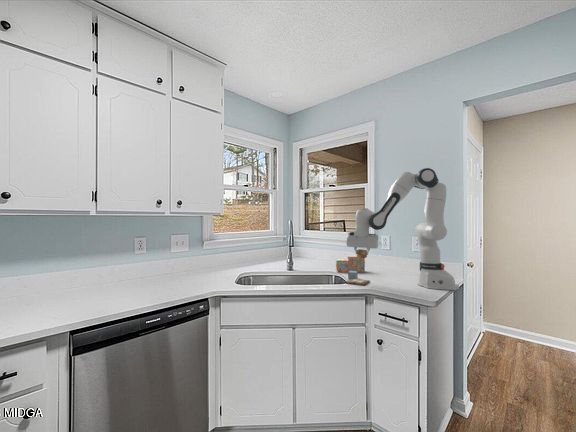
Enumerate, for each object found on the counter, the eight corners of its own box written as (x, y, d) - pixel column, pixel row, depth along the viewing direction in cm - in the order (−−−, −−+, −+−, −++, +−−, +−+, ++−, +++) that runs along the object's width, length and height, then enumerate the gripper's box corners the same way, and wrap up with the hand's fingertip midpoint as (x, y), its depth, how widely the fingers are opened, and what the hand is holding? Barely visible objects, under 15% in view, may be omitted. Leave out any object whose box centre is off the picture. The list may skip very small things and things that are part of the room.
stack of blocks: (336, 272, 229) (336, 256, 229) (336, 270, 236) (335, 255, 236) (364, 272, 228) (364, 256, 228) (363, 271, 234) (363, 255, 234)
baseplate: (369, 282, 193) (369, 280, 193) (364, 285, 184) (364, 283, 184) (351, 280, 199) (351, 278, 199) (345, 283, 190) (345, 281, 190)
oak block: (366, 257, 195) (366, 249, 195) (364, 258, 190) (364, 250, 190) (359, 256, 197) (359, 249, 197) (356, 257, 193) (357, 249, 193)
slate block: (357, 278, 205) (357, 271, 205) (355, 280, 201) (355, 272, 201) (350, 277, 208) (350, 270, 208) (348, 279, 204) (348, 271, 204)
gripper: (379, 233, 191) (379, 255, 191) (349, 232, 202) (348, 252, 202) (376, 234, 186) (376, 256, 186) (345, 232, 197) (345, 253, 196)
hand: (361, 254), depth 194 cm, fingers closed on oak block, 5 cm apart
